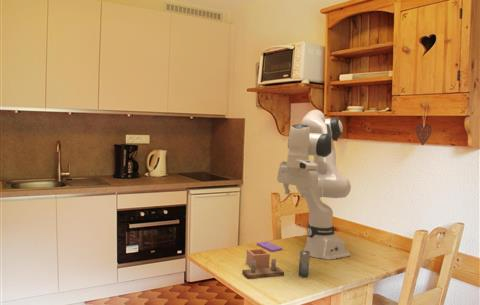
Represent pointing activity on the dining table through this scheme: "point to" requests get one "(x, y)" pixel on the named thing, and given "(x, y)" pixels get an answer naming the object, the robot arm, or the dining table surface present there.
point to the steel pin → (304, 264)
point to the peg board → (262, 271)
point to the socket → (258, 258)
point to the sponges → (269, 246)
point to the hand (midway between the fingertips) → (295, 196)
